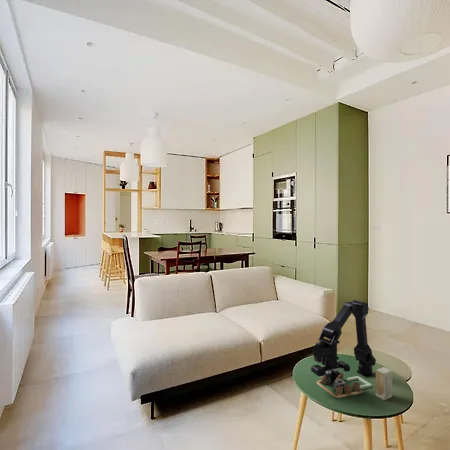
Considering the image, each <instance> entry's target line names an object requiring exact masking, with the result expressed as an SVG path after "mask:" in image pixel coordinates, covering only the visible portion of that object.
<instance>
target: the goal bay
mask: <svg viewBox="0 0 450 450" xmlns="http://www.w3.org/2000/svg"><path fill="white" fill-rule="evenodd" d="M355 380H358V381H360V382H362V383H363V384H360V390H363V389H367V388H372V387H373V384H372V383H370V382H369V381H367V380H365V379H364V378H362V377H360V376H358V375H357V376H356V375H355V376H350V377H347V378H346V381H348V382H350V381H355Z"/></svg>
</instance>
